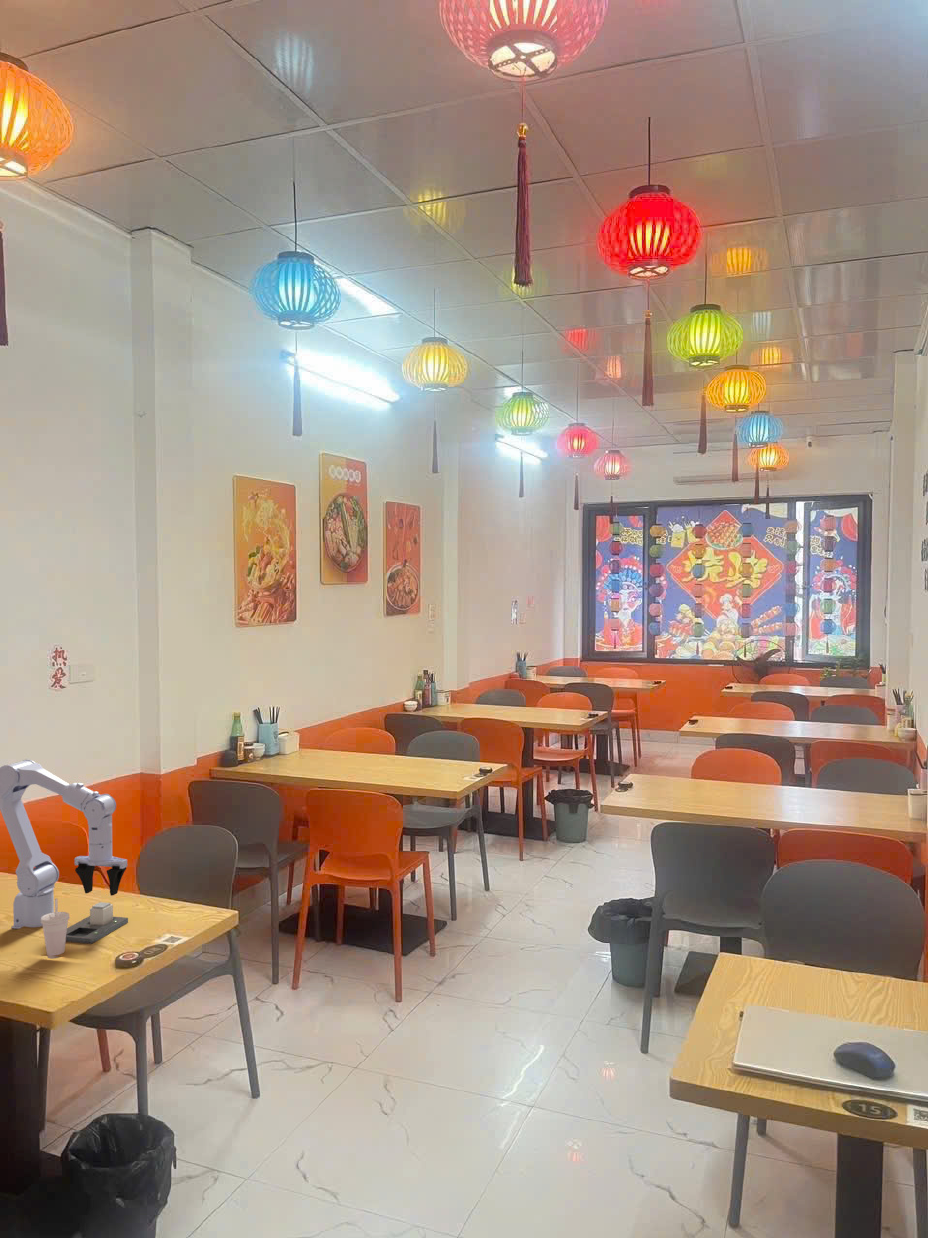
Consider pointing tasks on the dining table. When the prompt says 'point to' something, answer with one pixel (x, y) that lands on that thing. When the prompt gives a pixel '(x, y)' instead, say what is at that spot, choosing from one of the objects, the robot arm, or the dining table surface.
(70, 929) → the panel
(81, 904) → the dining table surface
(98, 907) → the beige rectangular block
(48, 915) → the smoothie
